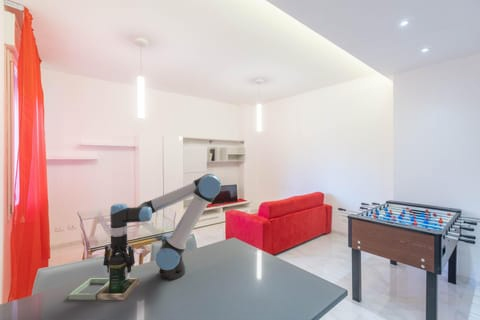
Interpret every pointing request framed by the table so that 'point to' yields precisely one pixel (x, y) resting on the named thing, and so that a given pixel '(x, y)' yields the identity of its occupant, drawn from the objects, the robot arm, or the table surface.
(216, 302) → the table surface
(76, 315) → the table surface
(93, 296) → the green frame
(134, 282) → the birch frame
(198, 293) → the table surface
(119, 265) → the coffee jar
